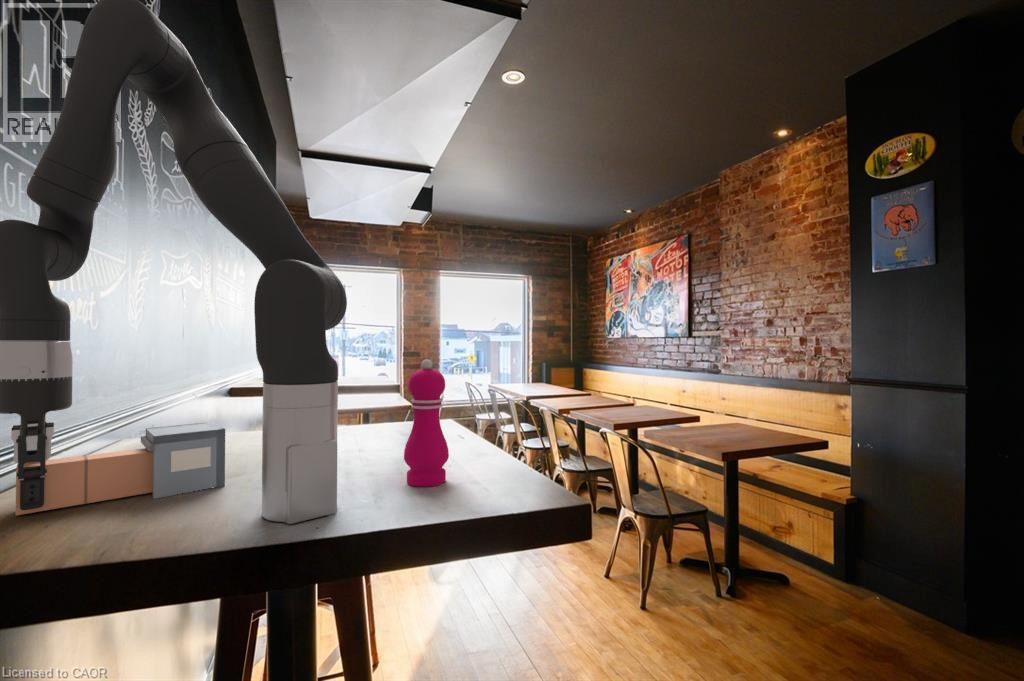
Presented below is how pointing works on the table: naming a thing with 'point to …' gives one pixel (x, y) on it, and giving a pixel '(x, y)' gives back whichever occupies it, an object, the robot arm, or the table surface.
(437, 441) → the pepper mill
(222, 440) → the block
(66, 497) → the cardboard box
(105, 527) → the table surface
